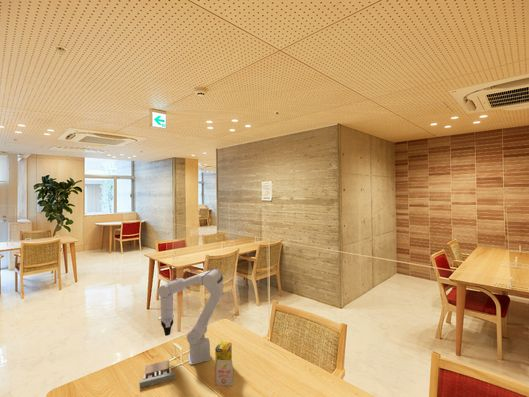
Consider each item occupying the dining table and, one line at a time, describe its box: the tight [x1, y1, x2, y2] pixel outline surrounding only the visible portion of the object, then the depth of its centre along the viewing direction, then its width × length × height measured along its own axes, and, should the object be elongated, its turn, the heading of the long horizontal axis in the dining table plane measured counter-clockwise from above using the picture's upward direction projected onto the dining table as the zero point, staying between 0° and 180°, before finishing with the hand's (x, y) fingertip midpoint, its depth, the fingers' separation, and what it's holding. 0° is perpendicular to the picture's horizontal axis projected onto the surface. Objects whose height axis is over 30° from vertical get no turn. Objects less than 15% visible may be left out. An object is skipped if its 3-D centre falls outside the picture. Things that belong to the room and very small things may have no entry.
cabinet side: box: [139, 367, 176, 389], centre depth 117 cm, size 14×4×2 cm, turn 112°
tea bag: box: [214, 359, 234, 388], centre depth 115 cm, size 4×7×10 cm, turn 85°
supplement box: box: [214, 340, 233, 363], centre depth 124 cm, size 6×6×11 cm
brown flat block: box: [144, 359, 171, 379], centre depth 121 cm, size 10×9×3 cm
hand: (167, 334), depth 135 cm, fingers closed
